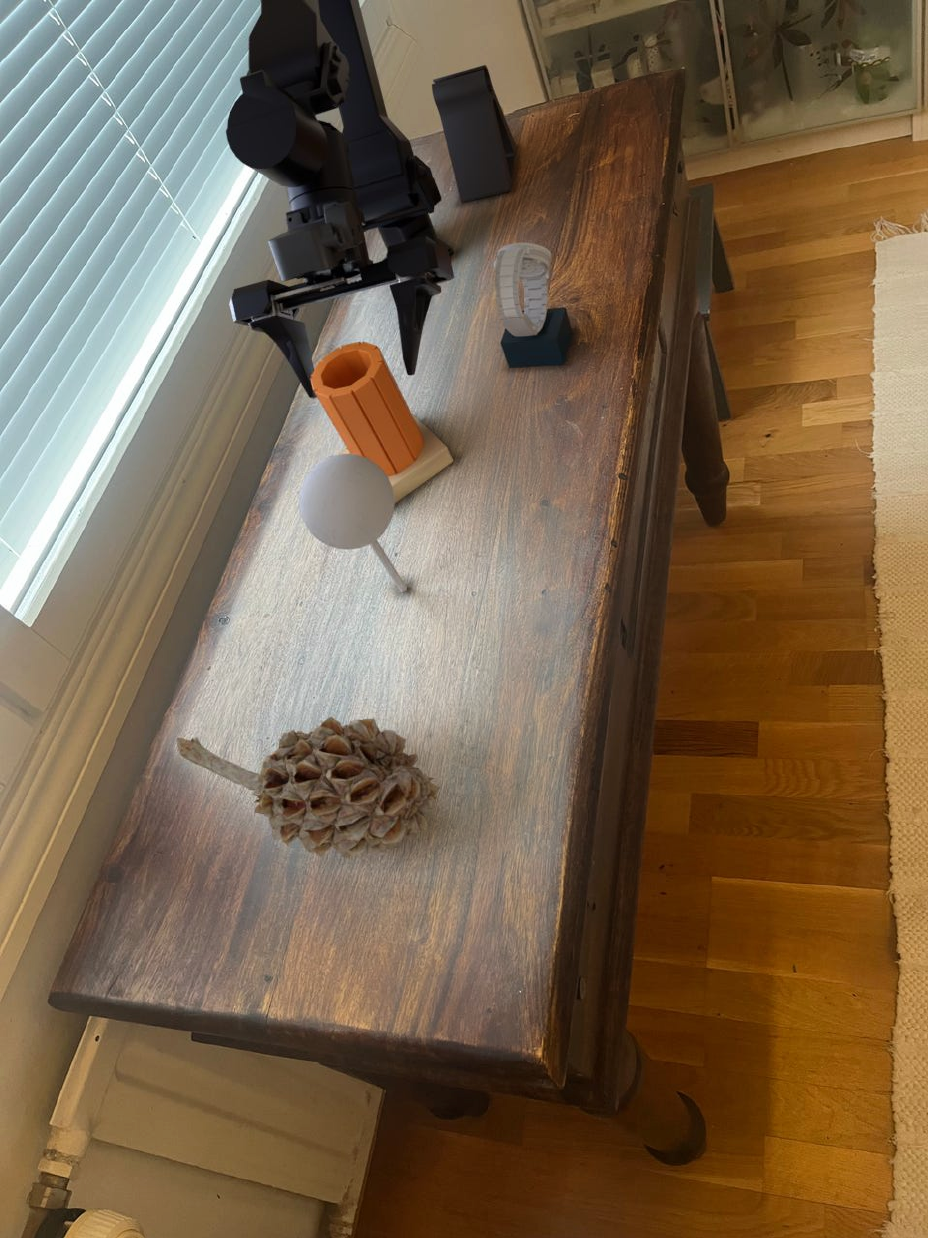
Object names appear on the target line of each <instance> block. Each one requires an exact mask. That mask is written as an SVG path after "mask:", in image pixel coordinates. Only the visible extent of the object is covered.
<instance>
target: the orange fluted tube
mask: <svg viewBox="0 0 928 1238" xmlns="http://www.w3.org/2000/svg"><path fill="white" fill-rule="evenodd" d="M311 377H312V378H311V383H312V387H313V391H314V393H315V394H316V396H317V398H316V399H317V400H318V401H319V403H320V405H321V406H322V408H323V410H324V411H325V413H326V415H327V417H328V418H329V420H330V422H331V424H332V425H333V427H334V429H335V430H336V432H337V433H338V435H339V437H340V439H341V441H342V442H343V443H344V446H345V448H348V450H349V452H350V454H355V455H359V456H362V457H365V458H367V459H369V460H371V461H372V462H374V463H375V464H377V465H378V466H379V467H380V468H381V469H382V470H383V471H384V472H385V473H386V475H387V476H391V475H396V471H397V472H398V473H400V472H401V471H403V470H404V469H405V468H407V467H408V466H410V465H411V464H412V463H414V460H413V459H415V460H416V459H417V458H418V456H419V453H420V451H421V449H422V447H423V443H424V441H423V438H422V435H421V432H420V430H419V428H418V426H417V424H416V422H415V419H414V417H413V415H414V414H413V413H412V412H411V409H410V407H409V405H408V403H407V401H406V399H405V397H404V396H403V393H402V390H401V389H400V387H399V385H398V383H397V381H396V379H395V377H394V374H393V373H392V371H391V369H390V367H389V365H388V362H387V361H386V359H385V356H384V355H383V352H382V350H381V349H380V347H378V345H375V344H372V343H369V342H366V341H362V342H361V341H356V342H353V343H349V344H348V343H347V344H344V345H341V346H340V347H336V348H335V349H333V350H332V351H331V352H330V353H328V354H327V355H325V356H324V357H322V358H321V360H320V361H318V363H317V365H316V366H315V367H314V372H313V373H312V375H311ZM412 414H413V415H412Z"/></svg>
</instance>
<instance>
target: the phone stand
mask: <svg viewBox="0 0 928 1238" xmlns="http://www.w3.org/2000/svg"><path fill="white" fill-rule="evenodd" d="M432 82H433V83H431V91H432V96H433V100H434V103H435V106H436V108H437V111H438V115H439V118H440V121H441V125H442V130H443V133H444V138H445V141H446V142H445V143H446V146H447V151H448V154H449V159H450V162H451V167H452V170H453V175H454V179H455V182H456V187H457V190H458V196H459V199H460V202H461V204H463V203H468V202H472V201H476V200H481V199H485V198H489V197H494V196H497V195H501V194H506V193H510V192H512V187H513V181H514V172H515V166H516V158H517V152H518V151H517V150H518V148H517V144H516V142H515V140H514V137H513V135H512V132H511V129H510V127H509V124H508V122H507V119H506V116H505V114H504V112H503V109H502V107H501V106H502V105H501V104H500V102H499V99H498V96H497V94H496V91H495V89H494V86H493V83H492V78H491V75H490V71H489V69H488V66H487V65H486V64H483V65H480V66H477V67H476V66H475V67H473V68H469V69H466V70H462V71H459V72H455V73H451V74H448V75H445V76H442V77H437V78H435V79H432Z"/></svg>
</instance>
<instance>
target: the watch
mask: <svg viewBox="0 0 928 1238" xmlns="http://www.w3.org/2000/svg"><path fill="white" fill-rule="evenodd" d="M551 260H552V252H551V251H550V249H548V248H546V247H545V246H543V245H540V244H536V243H530V242H514V243H508V244H506V245H503V246H502V247H500V248H499V249H498V251H497V252H496V259H495V260H493V268H494V290H495V298H496V299H495V300H496V304H497V309H498V312H499V315H500V317H501V319H500V321H501V323H502V325H503V326H504V331H503V333H502V337H501V340H500V343H499V344H500V346H501V349H502V352H503V354H504V358H505V360H506V363H507V366H508V368H509V369H517V368H533V367H534V368H535V367H551V366H564V365H565V363H566V360H567V356H568V352H569V349H570V345H571V343H572V338H573V335H574V331H573V329H572V328H573V327H572V324H571V320H570V317H569V313H568V310H567V307H566V306H564V307H551V308H548V305H549V295H548V293H549V286H548V285H549V284H548V279H550V271H551ZM520 282H522V286H523V288H522V289H523V296H524V299H523V300H524V301H523V303H524V307H523V310H522V305H521V299H520V284H519V283H520Z"/></svg>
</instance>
